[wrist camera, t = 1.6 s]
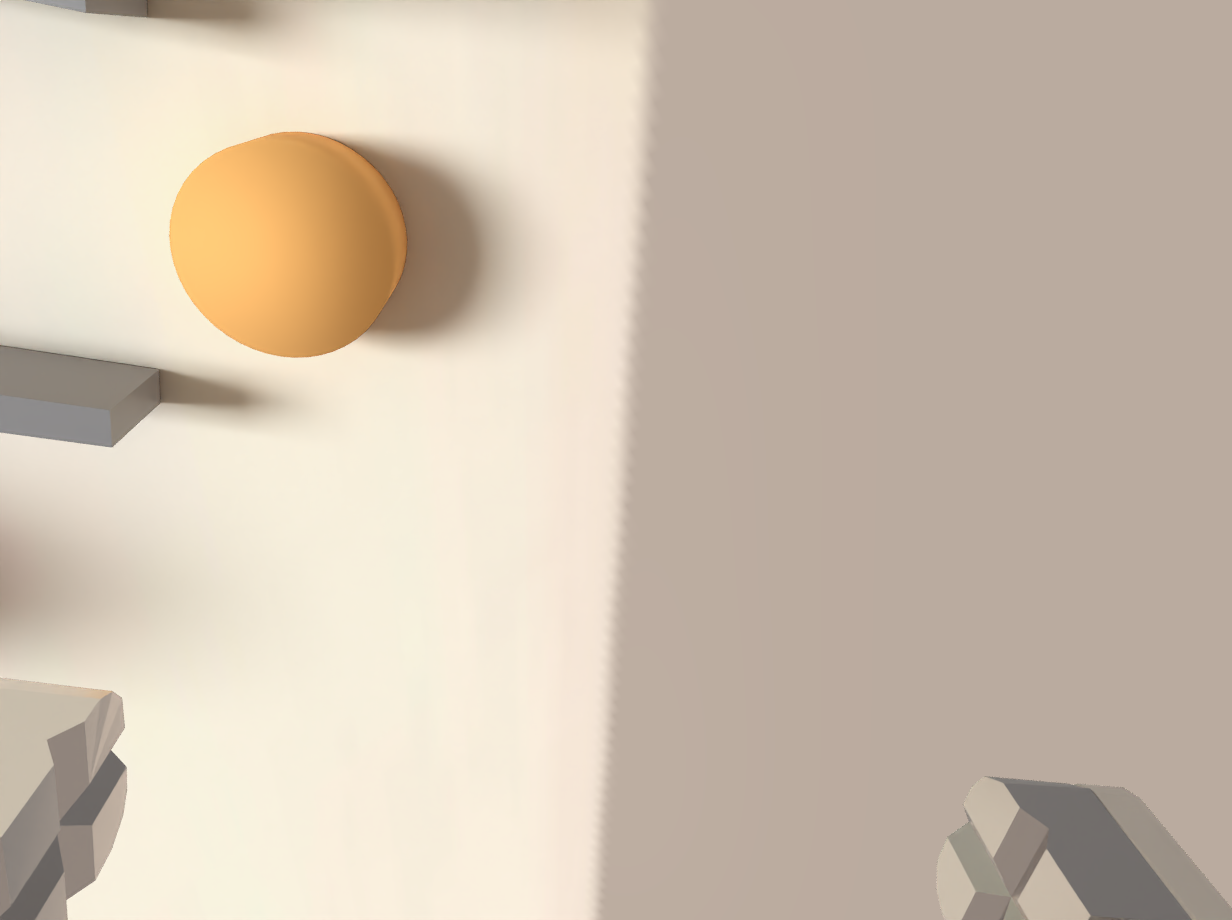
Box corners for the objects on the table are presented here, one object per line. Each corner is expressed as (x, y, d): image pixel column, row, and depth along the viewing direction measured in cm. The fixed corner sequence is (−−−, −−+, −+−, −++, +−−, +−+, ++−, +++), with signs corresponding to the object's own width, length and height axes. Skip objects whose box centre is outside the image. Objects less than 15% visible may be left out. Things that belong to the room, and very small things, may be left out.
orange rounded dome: (207, 112, 25) (166, 120, 22) (416, 153, 26) (401, 165, 23) (209, 310, 27) (171, 339, 25) (399, 341, 28) (383, 372, 25)
